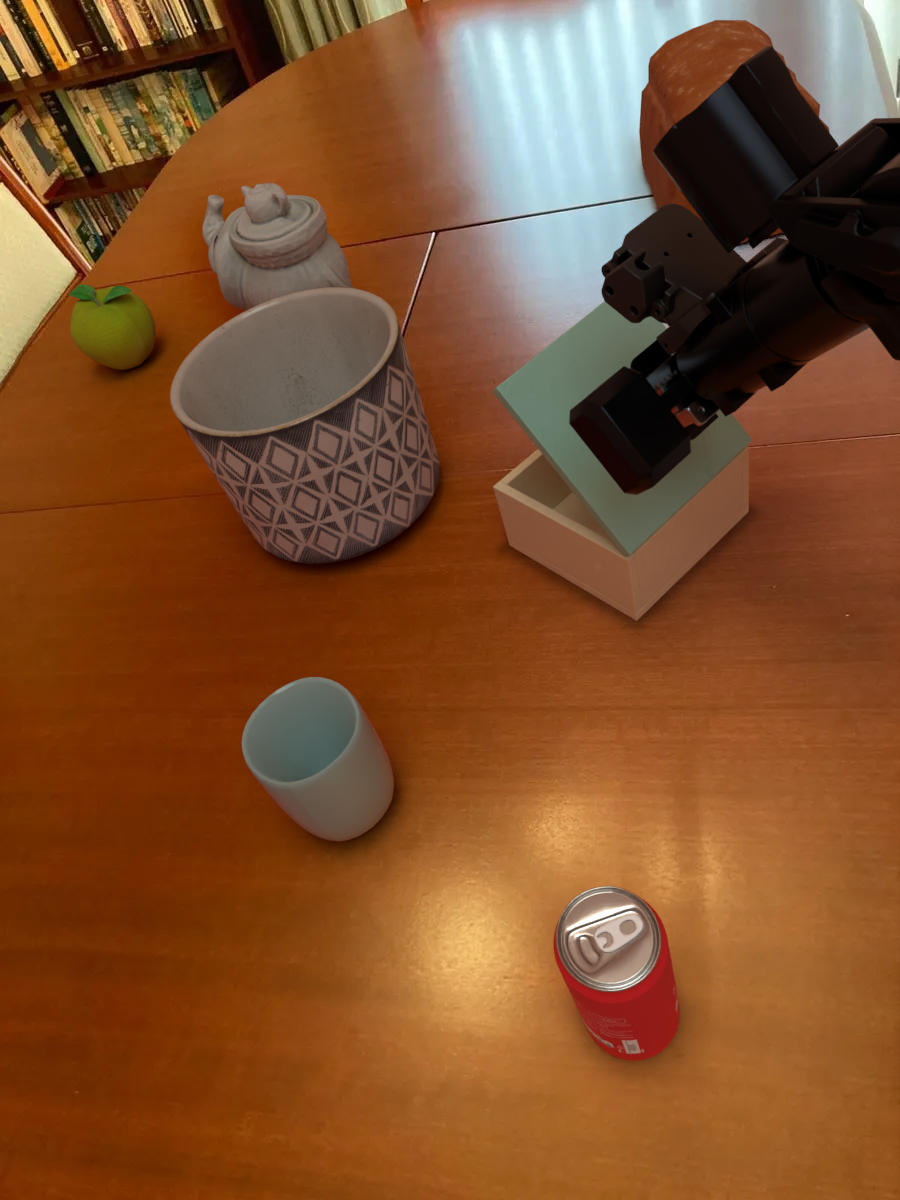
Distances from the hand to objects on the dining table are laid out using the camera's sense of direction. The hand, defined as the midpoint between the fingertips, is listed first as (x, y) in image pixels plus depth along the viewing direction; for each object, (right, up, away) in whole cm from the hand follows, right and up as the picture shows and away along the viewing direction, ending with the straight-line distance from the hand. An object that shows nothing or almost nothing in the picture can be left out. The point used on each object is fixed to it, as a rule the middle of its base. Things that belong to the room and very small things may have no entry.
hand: (639, 408), depth 60 cm
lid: (-1, 0, +2) cm, 2 cm away
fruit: (-52, +17, +51) cm, 75 cm away
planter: (-22, -4, +23) cm, 32 cm away
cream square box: (+1, -7, +12) cm, 14 cm away
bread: (+19, +34, +42) cm, 57 cm away
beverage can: (-3, -36, -11) cm, 38 cm away
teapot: (-30, +18, +44) cm, 56 cm away
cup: (-20, -27, +2) cm, 34 cm away
